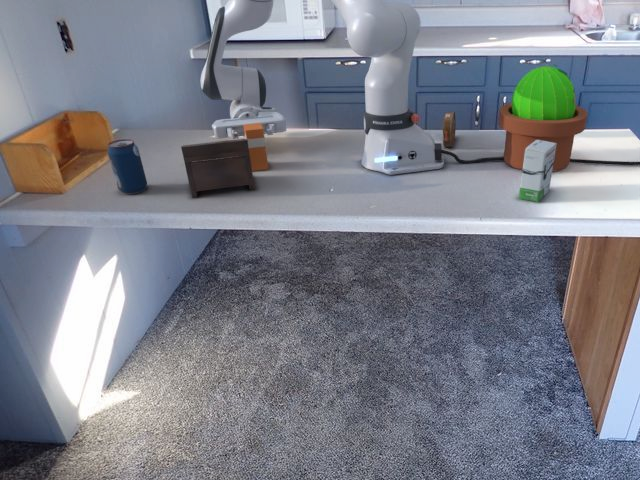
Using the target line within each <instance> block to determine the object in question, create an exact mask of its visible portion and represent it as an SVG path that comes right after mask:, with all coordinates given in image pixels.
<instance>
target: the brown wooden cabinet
mask: <svg viewBox="0 0 640 480" xmlns="http://www.w3.org/2000/svg"><path fill="white" fill-rule="evenodd" d="M180 149H181V153H182V157H183V163H184V167H185V171H186V176H187V182H188V185H189V190H190V194H191V198H192V199H195V198H198V192H203V191H210V190H218V189H219V190H220V189H225V188H226V189H227V188H233V187H241V186H248V189H249V191H255V189H256V187H255V181H254V174H253V171H252V167H251V160H250V153H249V147H248V140H247V139H246V138H237V139H230V140H219V141H211V142H202V143H201V142H200V143H192V144H184V145H181V146H180Z"/></svg>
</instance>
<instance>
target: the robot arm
mask: <svg viewBox="0 0 640 480" xmlns="http://www.w3.org/2000/svg"><path fill="white" fill-rule="evenodd" d="M274 1H275V0H228V1H227V3H226V4H225V5H224V6H221V7H219V9H218V10H217V12H216V14H215V18H214V22H213V25H212V31H211V33H210V39H209V43H208V49H207V53H206V58H205V63H204V66H203V68H202V70H201V74H200V79H199V80H200V88H201V92H202V93H203V94H204V95H205V97H207V98H209V99H210V100H212V101H223V100H225V101H231V103H230V106H229V116H230V118H222V119H221V118H220V119H217V120H215V121H214V122H213V123H212V124H211V128H212V130H213V134H214V138H215V139H218V140H219V139H229V138H232V140H237V139H239V137H244V138H245V131H244V124H254V123H261V125H262V127H263V131H264V135H267V136H273V135H274V134H277V133H285V132H286V131H287V122H286V118H285V117H284V115H283V114H282V113H280V112H278V111H277V108H276V107H269V106H264V105H265V103H266V97H267V84H266V80H265V77H264V76H263V74H262V72H261V71H260V70H259V69H258V68H255V67H246V66H235V65H227V64H222V61H223V57H224V52H225V48H226V44H227V42H228V40H229V39H231V37H233V36H235V35H238V34H241V33H245V32H249V31H254V30H256V29H259V28H261V27H263V26H264V25H266V23H267V22H268V21H269V20H270V18H271V16H272V12H273V8H274ZM330 2H331V3H332V4H333V5H334V7H335V8H336V10H337V11H338V13H339V14H340V16H341V19H342V21H343V23H344V25H345V27H346V37H347V42H348V44H349V46H350V49H352V51H353V52H354V53H355V54H357V55H358V56H360V57H364V58H371V59H370V65H369V68H368V71H367V73H366V75H365V78H364V101H365V104H364V105H365V109H364V111H363V130H364V133H365V140H364V148H363V155H362V158H361V162H360V164H361V166H362V167H363V168H365V169H368V170H371V171H375V172H379V173H383V174H385V175H388V176H393V175H400V174H401V175H402V174H410V173H418V172H425V171H431V170H440V169H443V168H444V166H445V158H444V156H443V155H448V156H450V157H453V158H454V159H455V160H454V161H456V162H457V163H459V164H466V165H468V164H479V163H482V162H497V161H498V162H499V161H504V156H494V157H493V156H492V157H491V156H490V157H482V158H476V159H470V160H465V159H461V158H459V157H458V155H457V154H455V152H452V151H449V150H444V149H443V147H442V146H443V144H442V143H440V142H435V140H434V139H433V137H432V136H431V135H430V134H429V133H428V132H427V131H425V130H424V129H423V128H421V127H420V125H417V124H418V123H419V122H420V116H419V114H417V113H416V112H414V111H413V110H412V109H409V81H410V80H409V79H410V71H411V66H412V60H413V55H414V50H415V45H416V41H417V38H418V36H419V34H420V31H421V27H422V26H421V23H422V21H421V17H420V14H419V12H418V11H417V10H416V8H414V6H412V5H410V4H408V3H406V2H402V1H396V0H395V1H390V2H385V1H384V0H330ZM570 163H576V164H579V163H580V164H590V165H610V166H614V165H615V166H640V161H621V160H620V161H619V160H597V159H584V158H583V159H581V158H570Z"/></svg>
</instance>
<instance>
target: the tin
mask: <svg viewBox="0 0 640 480" xmlns="http://www.w3.org/2000/svg"><path fill="white" fill-rule="evenodd" d="M442 135H443V136H442V146H443V147H444V148H453V147H454V144H455V140H456V112H455V111H454V110H453V111H446V112H445V113H444V115H443V119H442Z"/></svg>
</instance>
